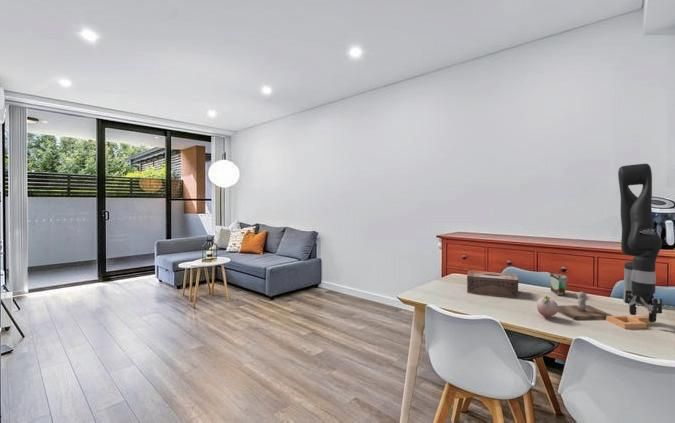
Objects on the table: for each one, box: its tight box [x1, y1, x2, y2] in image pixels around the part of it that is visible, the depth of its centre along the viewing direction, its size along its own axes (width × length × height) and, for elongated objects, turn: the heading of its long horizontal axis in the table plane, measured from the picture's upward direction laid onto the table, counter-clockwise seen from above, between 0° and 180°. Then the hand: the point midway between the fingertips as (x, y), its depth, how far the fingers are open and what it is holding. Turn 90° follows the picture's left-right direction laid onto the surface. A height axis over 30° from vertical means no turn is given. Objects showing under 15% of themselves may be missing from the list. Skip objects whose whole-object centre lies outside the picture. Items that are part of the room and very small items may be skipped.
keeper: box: [557, 291, 614, 321], centre depth 152 cm, size 18×14×10 cm
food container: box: [549, 273, 569, 297], centre depth 184 cm, size 12×6×10 cm, turn 168°
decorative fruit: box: [536, 295, 559, 319], centre depth 148 cm, size 9×8×10 cm
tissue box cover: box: [466, 270, 519, 299], centre depth 189 cm, size 26×14×10 cm, turn 65°
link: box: [605, 315, 653, 330], centre depth 140 cm, size 15×9×3 cm, turn 91°
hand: (642, 318), depth 140 cm, fingers open, 8 cm apart
